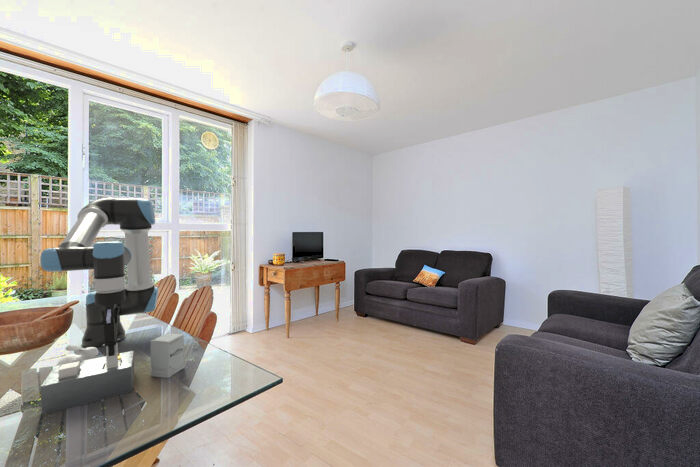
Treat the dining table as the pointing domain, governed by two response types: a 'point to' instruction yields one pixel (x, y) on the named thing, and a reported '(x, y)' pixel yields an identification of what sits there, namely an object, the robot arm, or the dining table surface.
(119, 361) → the block
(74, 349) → the rabbit
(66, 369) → the block
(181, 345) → the supplement box
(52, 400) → the block
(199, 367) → the dining table surface
